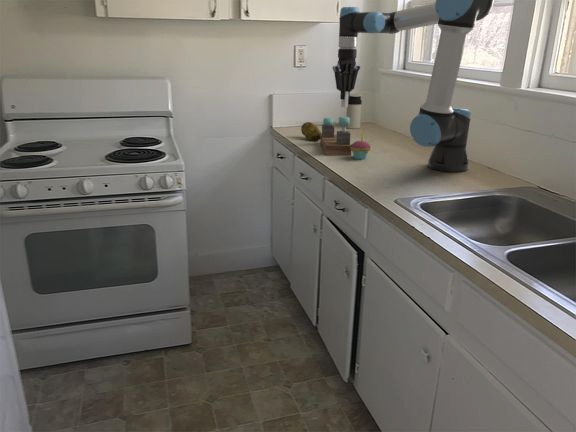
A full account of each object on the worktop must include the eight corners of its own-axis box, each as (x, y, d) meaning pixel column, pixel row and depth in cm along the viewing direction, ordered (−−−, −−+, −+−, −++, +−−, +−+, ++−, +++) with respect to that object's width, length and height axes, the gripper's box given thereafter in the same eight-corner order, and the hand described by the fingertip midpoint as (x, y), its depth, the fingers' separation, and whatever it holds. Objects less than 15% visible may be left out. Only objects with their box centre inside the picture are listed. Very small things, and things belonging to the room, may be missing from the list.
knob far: (333, 136, 222) (334, 119, 219) (323, 136, 222) (324, 119, 219) (332, 134, 226) (332, 117, 223) (322, 134, 226) (323, 117, 223)
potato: (306, 142, 231) (307, 125, 228) (299, 137, 242) (299, 121, 239) (323, 141, 233) (323, 125, 230) (315, 136, 244) (315, 120, 241)
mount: (351, 155, 206) (352, 134, 203) (325, 155, 206) (326, 134, 202) (343, 142, 230) (343, 123, 227) (320, 142, 230) (320, 123, 227)
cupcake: (354, 154, 207) (356, 127, 203) (373, 157, 203) (375, 128, 199) (346, 158, 200) (347, 130, 196) (365, 161, 196) (367, 132, 192)
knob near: (349, 136, 206) (350, 118, 203) (338, 136, 206) (339, 118, 203) (347, 134, 210) (348, 116, 207) (337, 134, 210) (338, 116, 207)
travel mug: (361, 128, 266) (363, 95, 260) (347, 129, 265) (349, 95, 258) (357, 126, 273) (359, 94, 267) (344, 126, 272) (345, 94, 266)
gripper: (354, 48, 202) (350, 105, 210) (329, 48, 195) (326, 106, 204) (365, 48, 196) (361, 107, 204) (340, 48, 189) (337, 109, 198)
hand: (344, 107), depth 204 cm, fingers closed
